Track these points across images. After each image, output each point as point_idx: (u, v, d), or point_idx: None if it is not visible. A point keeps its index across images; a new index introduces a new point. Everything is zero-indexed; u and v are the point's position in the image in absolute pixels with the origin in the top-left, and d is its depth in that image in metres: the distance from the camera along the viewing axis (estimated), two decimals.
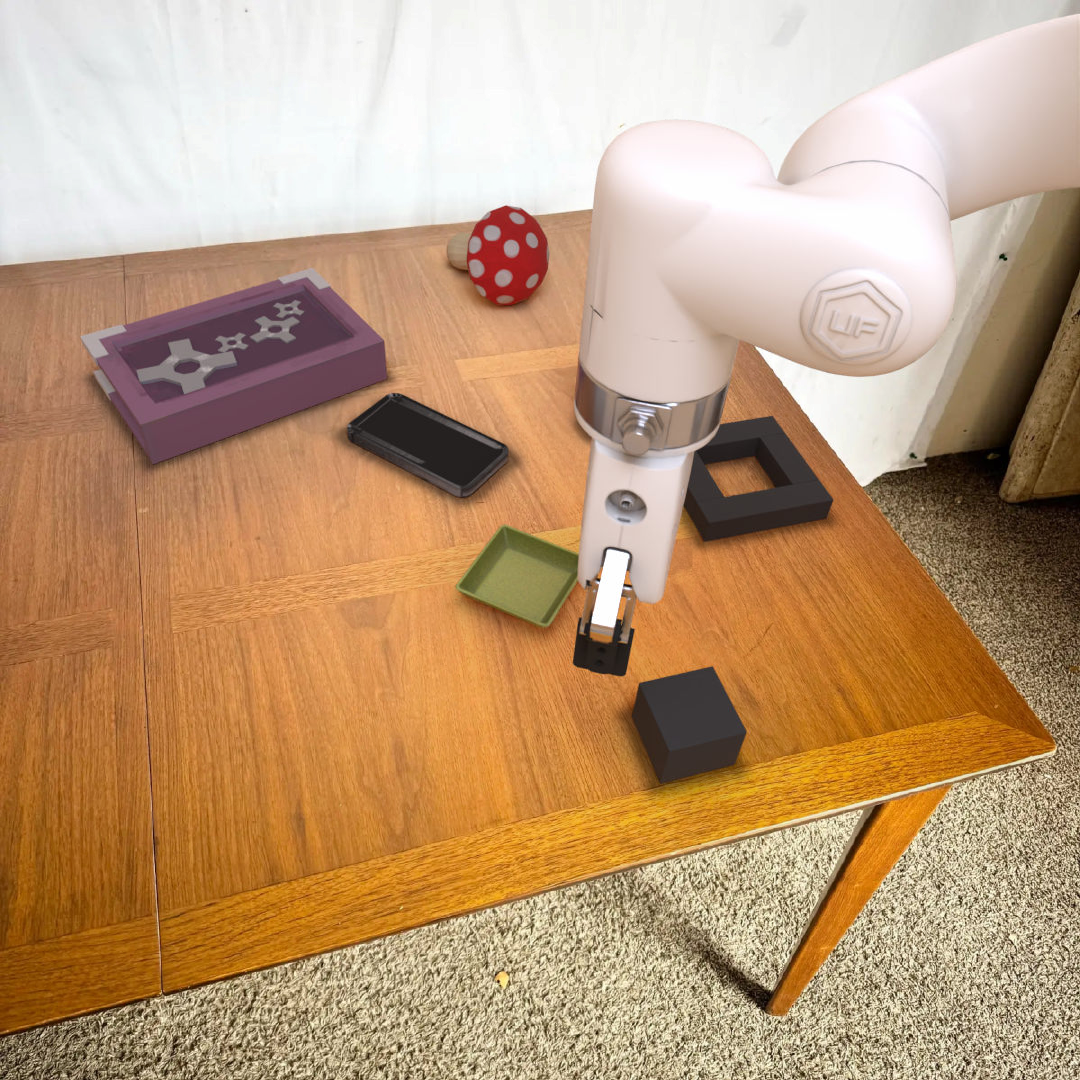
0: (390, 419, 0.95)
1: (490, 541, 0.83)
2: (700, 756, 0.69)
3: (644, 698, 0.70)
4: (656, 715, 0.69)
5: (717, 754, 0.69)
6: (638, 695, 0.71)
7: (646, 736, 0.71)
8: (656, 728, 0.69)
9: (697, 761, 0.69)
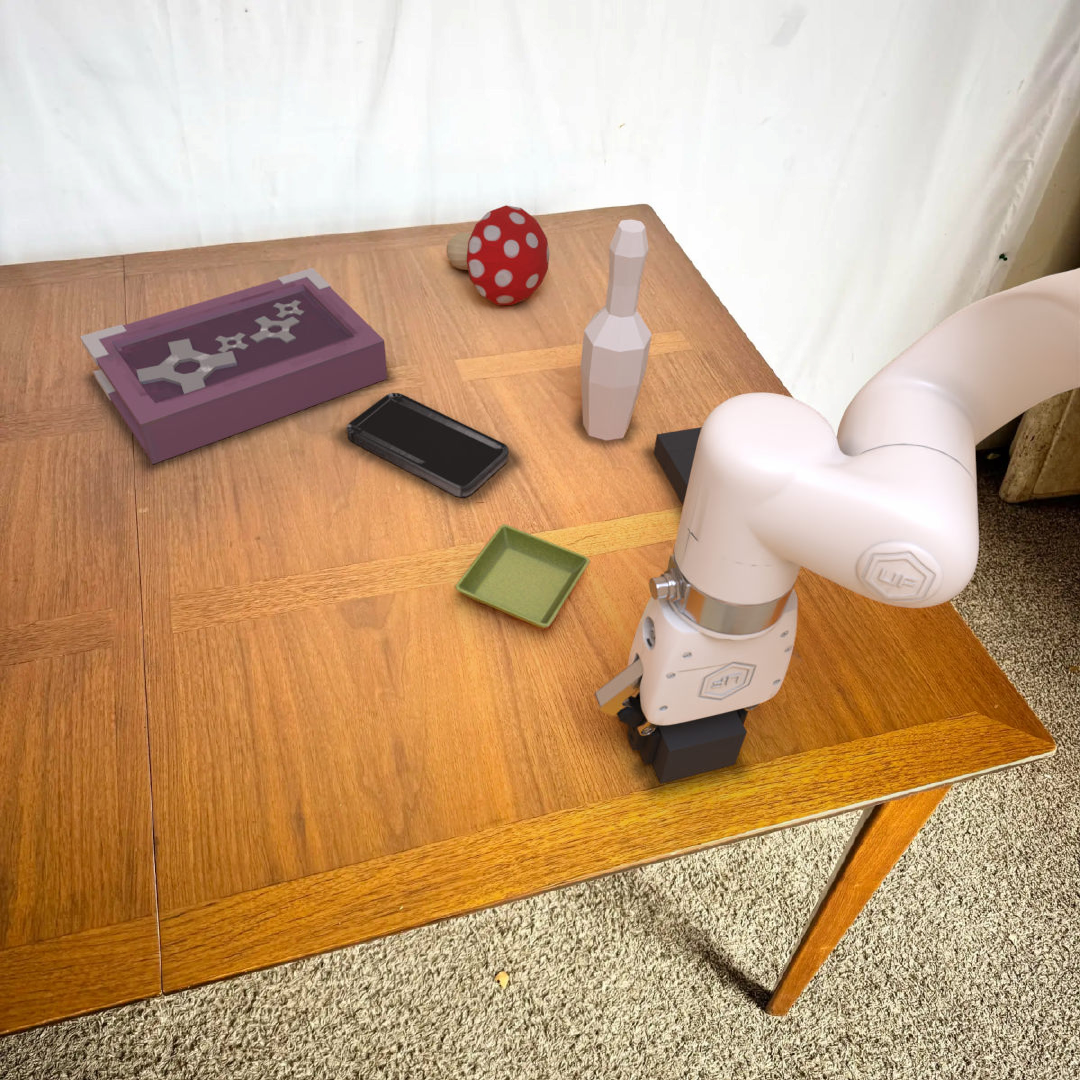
0: (389, 418, 0.95)
1: (490, 541, 0.83)
2: (700, 756, 0.69)
3: None
4: None
5: (717, 754, 0.69)
6: None
7: None
8: None
9: (697, 761, 0.69)
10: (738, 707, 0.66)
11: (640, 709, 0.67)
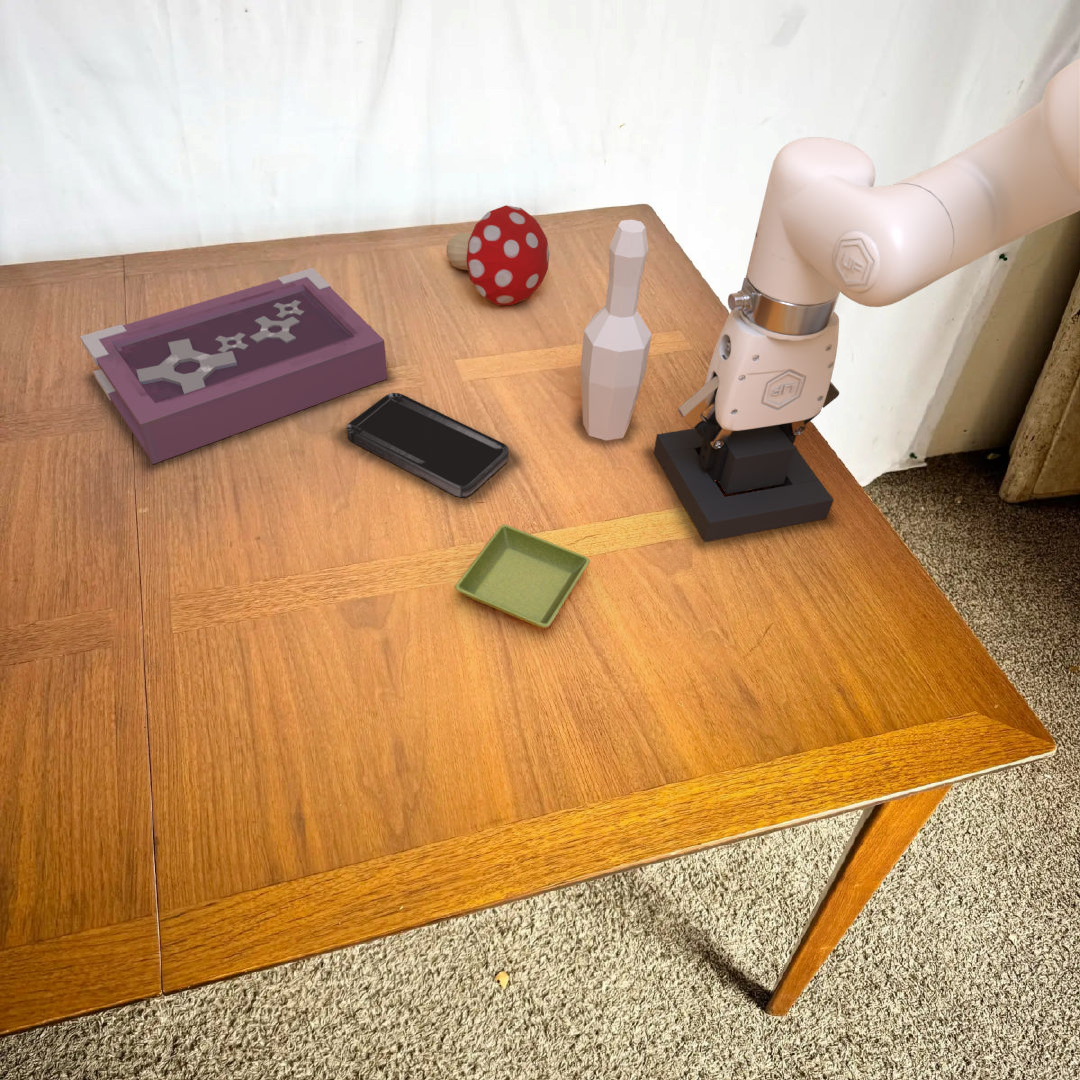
0: (390, 419, 0.95)
1: (490, 541, 0.83)
2: (758, 468, 0.87)
3: None
4: None
5: (771, 468, 0.88)
6: None
7: None
8: None
9: (755, 474, 0.88)
10: (790, 420, 0.84)
11: (712, 426, 0.86)
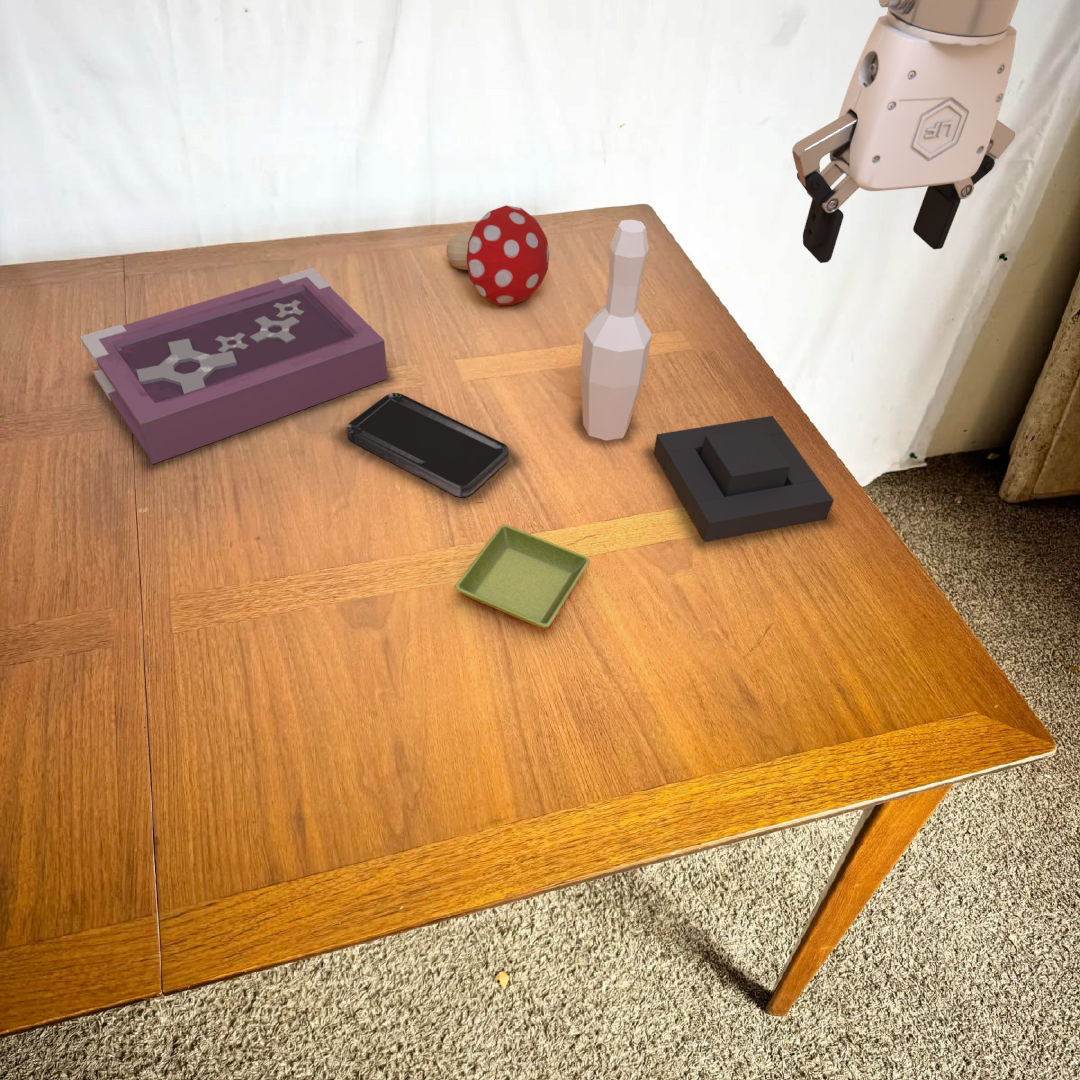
0: (389, 419, 0.95)
1: (490, 541, 0.83)
2: (754, 486, 0.89)
3: (710, 445, 0.90)
4: (720, 454, 0.89)
5: (767, 486, 0.89)
6: (705, 445, 0.91)
7: None
8: (720, 464, 0.89)
9: (751, 491, 0.89)
10: (941, 180, 0.67)
11: None
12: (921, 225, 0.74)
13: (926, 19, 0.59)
